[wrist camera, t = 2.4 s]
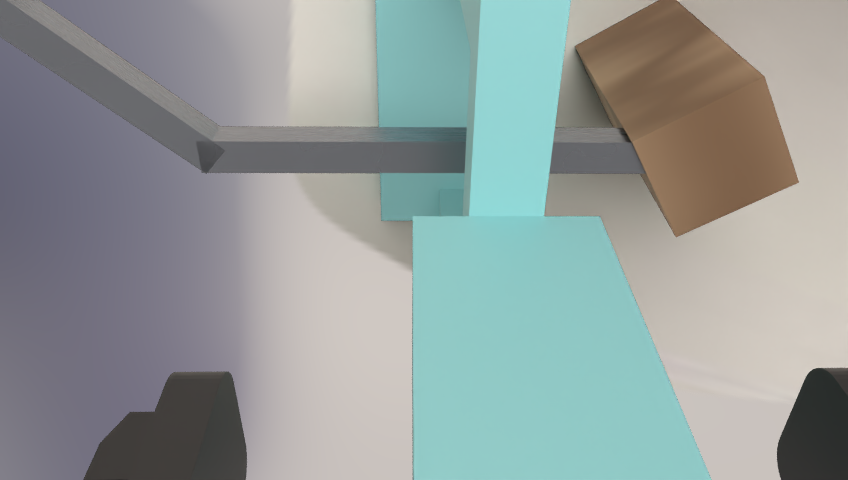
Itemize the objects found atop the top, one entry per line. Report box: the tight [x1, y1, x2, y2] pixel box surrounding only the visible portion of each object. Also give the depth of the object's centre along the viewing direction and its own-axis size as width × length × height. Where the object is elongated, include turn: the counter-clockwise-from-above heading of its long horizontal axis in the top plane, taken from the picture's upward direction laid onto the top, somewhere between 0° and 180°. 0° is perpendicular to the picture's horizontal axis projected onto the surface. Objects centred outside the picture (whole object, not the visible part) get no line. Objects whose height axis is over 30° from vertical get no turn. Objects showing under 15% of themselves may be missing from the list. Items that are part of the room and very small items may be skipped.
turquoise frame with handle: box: [376, 0, 711, 480], centre depth 14 cm, size 5×10×18 cm, turn 179°
